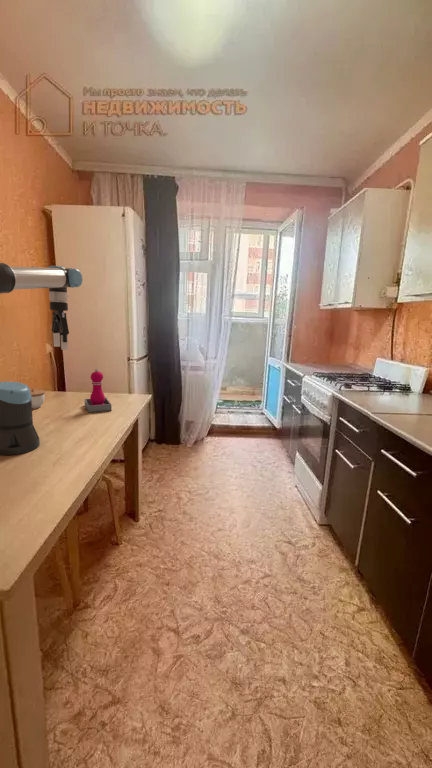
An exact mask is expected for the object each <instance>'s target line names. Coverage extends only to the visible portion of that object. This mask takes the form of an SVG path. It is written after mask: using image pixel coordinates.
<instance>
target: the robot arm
mask: <svg viewBox="0 0 432 768" xmlns="http://www.w3.org/2000/svg"><path fill="white" fill-rule="evenodd" d="M82 284H83V275H82V272H81V271H80V270H79V269H78V268H72V267H70V268H69V267H67V268H65V266H59V265H49V266H48V267H39V266H10V265H8V264H7V263H4V262H0V295H1V294H9V293H12V292H13V291H14V290H28V289H29V290H33V289H48V294H49V295H48V296H49V309H50V311H53V312H52V322H51V323H52V325H51V331H52V336H53V337H52V338H53V348H54V347H56V348H57V347H58V348H61V349H60V350H62V351H63V350H65V351H66V350H69V344H68V343H69V341H68V340H69V339H68V335H69V334H70V331H69V325H68V321H67V313H66V312H68V310H69V305H68V297H69V295H68V288H73V289H74V288H80V287H81V286H82ZM30 390H31V389H30V387H29V386H28V385H27V384H26V383H22V382H18V381H0V456H14V455H15V456H16V455H20V454H25V453H28V452H29V453H30V452H31V451H33V450H35V449H37V448H39V447H40V444H41V441H40V437H39V435H38V433H37V430H36V429H35V426H34V422H33V409H32V400H31V393H30Z"/></svg>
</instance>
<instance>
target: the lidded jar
mask: <svg viewBox="0 0 432 768" xmlns="http://www.w3.org/2000/svg"><path fill="white" fill-rule="evenodd" d="M30 393H31V400H32V410H33V409H38V408H41V406H42V405H43V404H44V402H45V399H46V397H45V395H46V392H45V390H42V389H34V388H31V389H30Z"/></svg>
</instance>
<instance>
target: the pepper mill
mask: <svg viewBox="0 0 432 768" xmlns="http://www.w3.org/2000/svg"><path fill="white" fill-rule="evenodd" d="M90 379H91V384H92V390H91V394H90V395H89V396H90V397H89V399H90V401H91V402H92V404H91V406H93V405H104V403H103V402H104V401H105V398H106V396H105V394H104V392H103V387H102V385H103V381H102V380H103V379H104V374H103V373H102V372H101V371H100V370H99V369H98V368H95V369H94V372H92V373H91V375H90Z"/></svg>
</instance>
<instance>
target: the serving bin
mask: <svg viewBox="0 0 432 768" xmlns="http://www.w3.org/2000/svg"><path fill="white" fill-rule="evenodd" d="M103 403H104V405H93V406H91V404H92V402H91V401H90V398H84V407H85V409H86V411H87V413H88V414H94V413H103V412H104V413H105V412H112V409H113V408H112V403H111V402H110V400H109V399H108V397H105V401H104V402H103Z"/></svg>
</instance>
